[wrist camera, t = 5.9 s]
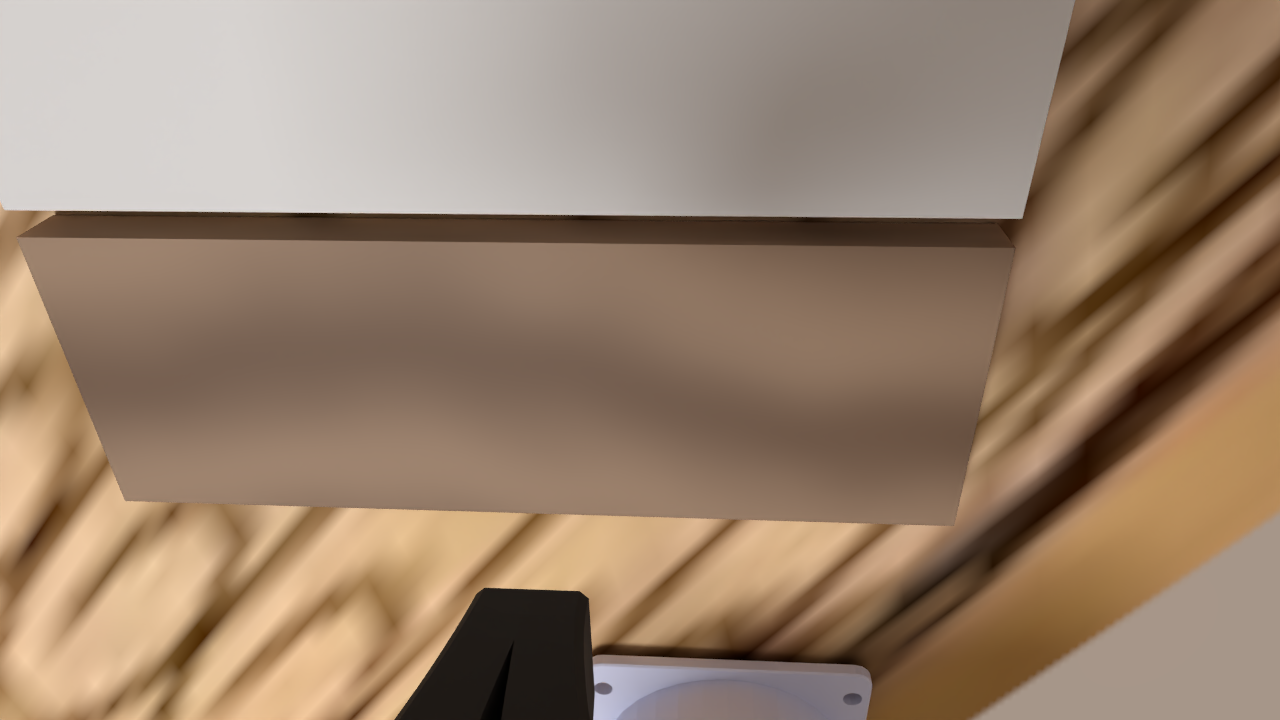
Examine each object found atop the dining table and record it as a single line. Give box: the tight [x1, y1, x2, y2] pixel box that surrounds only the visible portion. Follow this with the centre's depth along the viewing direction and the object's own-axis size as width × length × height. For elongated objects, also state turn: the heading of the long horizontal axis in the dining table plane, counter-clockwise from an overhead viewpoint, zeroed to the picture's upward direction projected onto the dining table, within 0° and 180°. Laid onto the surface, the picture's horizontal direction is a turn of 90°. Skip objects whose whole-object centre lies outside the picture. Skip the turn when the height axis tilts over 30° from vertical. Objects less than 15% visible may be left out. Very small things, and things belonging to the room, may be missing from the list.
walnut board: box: [16, 215, 1015, 526], centre depth 20 cm, size 7×20×1 cm, turn 91°
